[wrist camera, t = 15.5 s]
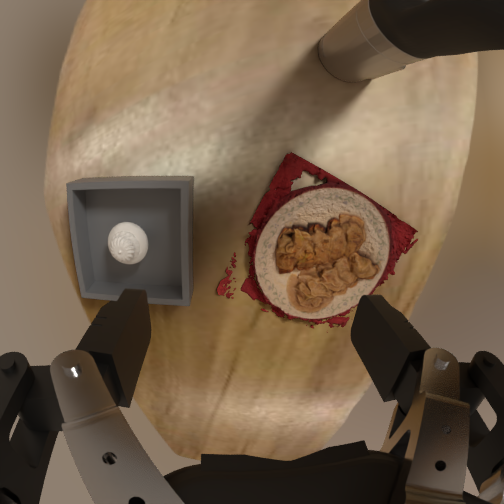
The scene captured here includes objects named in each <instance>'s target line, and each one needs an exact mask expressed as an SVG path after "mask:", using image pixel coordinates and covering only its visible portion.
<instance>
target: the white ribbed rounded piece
mask: <svg viewBox="0 0 504 504" xmlns="http://www.w3.org/2000/svg"><path fill="white" fill-rule="evenodd" d="M108 248H109V251H110V253H111V254H112V256H113V257H114V258H115V259H116V260H118V261H119V262H121V263H125V264H135V263H138V262H140V261H141V260H142V259H143V258H144V257H145V255H146V253H147V250H148V238H147V235H146V234H145V231H143V229H142V228H140V226H138V225H137V224H134V223H131V222H122V223H119V224H117V225H116V226H114V227H113V228H112V230H111V231H110V233H109V236H108Z"/></svg>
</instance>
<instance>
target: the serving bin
mask: <svg viewBox="0 0 504 504" xmlns="http://www.w3.org/2000/svg"><path fill="white" fill-rule="evenodd" d="M193 184H194V176H121V177H95V178H81V179H78V180H75V181H72V182H69V183H66V185H67V201H68V213H69V223H70V232H71V240H72V247H73V254H74V260H75V266H76V271H77V277H78V282H79V287H80V292H81V296H82V298H91V299H101V300H111V301H117V300H118V298H119V297H120V295H121V294H122V292H123V290H124V289H125V288H130V289H144V290H146V293H147V299H148V304H162V305H179V306H190V303H191V298H192V293H193ZM122 222H131V223H134V224H137V225H138V226H140V228H142V229H143V231H145V234H146V235H147V238H148V250H147V253H146V255H145V257H144V258H143V259H142V260H141V261H140V262H138V263H135V264H125V263H121V262H119V261H118V260H116V259H115V258H114V257H113V256H112V254H111V253H110V251H109V248H108V236H109V233H110V231H111V230H112V228H113V227H114V226H116V225H117V224H119V223H122Z"/></svg>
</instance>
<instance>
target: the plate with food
mask: <svg viewBox="0 0 504 504" xmlns="http://www.w3.org/2000/svg"><path fill="white" fill-rule="evenodd" d="M302 171H307V172H309V173H310V174H311V175H317V176H318V179H319V180H322V179H323V178H327V183H325V184H320V185H317V186H309V187H304V188H301V189H297V190H294V191H291V185H292V184H293V182H291V180H294V179H296V178H297V177H298V178H301V175H302ZM269 187H270V188H271V189H270V191H269V192H267V193H266V194H265V195H264V197H263V199H262V201H261V202H260V204H259V206H258V208H257V210H256V212H255V214H254V216H253V218H252V220H251V222H250V223H253V225H254V227H256V229H257V230H256V229H253V230H252V231H251V232H249V234H250V235H251V236H250V237H249V238H247V240H246V241H245V243H248V245H249V252H248V255H249V256H251V257H252V258H251V261H250V262H249V264H251V263H252V262H253V266H252V264H251V265H250V268H249V274H250V275H249V276H248V277H249V278H246V279H245V282H244V283H243V285H242V287H241V291H243V292H246V293H247V294H248V295H249V296H250V297H251V298H252V299H253V300H255V299H259V300H260V301H262V302H264V304H267V303H269V304H270V305H271V306H272V307H271V308H272V311H273V312H275V313H276V314H277V316H279V317H283V316H284V314H286V315H287V316H288V317H287V318H288V319H293V318H300V319H302V320H306V321H307V320H308V319H311V320H309V322H311V321H312V322H315V324H317V325H318V324H321V323H323V324H324V323H325V322H328V323H330V324H329V326H330V328H332V327H334V326H333V325H332V324H333V323H336V324H340V325H341V327H344V326H345V325H346V323H347V321H348V320H349V317H347V318H346V317H339V316H345V315H346V314H348V313H350V312H349V311H351V310H350V309H351V308H352V307H353V308H355V306H358V303H359V300H360V298H361V296H363V295H371V294H373V292H374V290H375V288H377V287H378V286H379V285H380V286H381V284H383V283H385V282H384V280H388V274H389V273H390V274H391V275H394V274H395V272H394V271H393V270H394V267H395V262H396V263H397V260H399V257H400V256H401V253H402V252H403V253H404V254H406V253H407V252H408V250H409V249H410V248H412V246H413V245H414V244H415V243H416V242H417V241H418V239H416V240H415V241H413V242H412V243H411V244H410V242H411V239H412V238H414V234H415V233H416V232H418V231H417V230H415V229H414V228H413V227H411V226H410V225H408V224H407V223H405V222H403V221H401V220H399V219H398V218H397V216H396V215H394V214H392V213H391V212H390V211H388V210H387V209H385V208H384V207H382V206H381V205H379V204H378V203H377V202H375V201H374V200H372V199H371V198H369V197H368V196H366V195H364V194H363V193H361V192H360V191H358V190H357V189H355V188H353V187H352V186H350V185H348V184H346V183H345V182H343V181H341V180H340V179H338V178H336V177H335V176H333V175H331V174H330V173H328V172H326V171H324V170H323V169H321V168H319V167H317V166H315V165H314V164H312V163H310V162H308V161H306V160H305V159H303V158H301V157H299V156H297V155H296V154H294V153H292V152H291V153H290V154H286V155H285V157H284V160H283V162H282V163H281V165H280V167H279V170H278V171H277V173H276V175H275V176H274V178H273V180H272V182H271V184H270V186H269ZM275 189H276V190H275ZM245 246H246V244H245ZM406 246H407V247H406ZM405 247H406V250H405ZM404 250H405V251H404ZM234 257H236V255H235V253H234ZM232 260H234V261H231V260H230V262H232V264H231V265H232V266H233V268H235V267H236V265H235V264H234V263H235V262H236V260H235V259H234V258H233V257H232ZM229 268H231V267H229ZM226 273H227V274H228V275H229V276H227V277H226V278H224V279H222V281H221V282H220V284H219V286H218V288H217V292H218V295H224V293H225V292H226V290H227V289H230V288H231V287H230V286H229V287H228V288H226V286H227V284H230V282H231V281H232V280H229V277H230V275H231V274H232V270H231V271H230V270H228V267H227V269H226ZM254 273H255V274H256V275H257V277H256V281H257V282H258V285H257V283H256V281H255V279H254V277H255V276H254V275H255V274H254ZM250 276H252V277H250ZM233 279H235V278H233ZM250 279H251V280H250ZM253 279H254V280H253ZM235 282H236V281H235ZM223 284H225V286H224V287H223ZM257 286H259V288H260V289H261V290H262V292H263V294H262V293H261V291H260V289H258V288H257ZM235 289H236V288H235ZM235 289H234V290H235ZM234 290H233V291H234ZM233 294H234V293H229V291H228V293H227V294H226V296H227V297H228V298H230V296H231V295H233ZM232 299H233V297H232ZM266 302H267V303H266ZM274 308H275V309H274ZM261 310H263V311H265V312H268V311H266V310H265V309H261ZM352 311H353V310H352ZM337 315H339V316H338V317H336V316H337ZM334 316H335V317H334ZM331 317H333V318H331ZM283 318H285V317H283ZM325 318H329V319H328V320H327V319H326V320H327V321H324V322H322V320H320V319H325ZM330 318H331V319H330ZM340 325H339V326H340ZM306 326H307V325H306ZM339 326H338V327H339ZM310 327H311V328H314V327H313V325H311V326H310ZM327 333H328V332H327Z"/></svg>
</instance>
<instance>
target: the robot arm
mask: <svg viewBox="0 0 504 504" xmlns="http://www.w3.org/2000/svg"><path fill="white" fill-rule="evenodd" d="M502 49H503V50H504V0H361V1H360V2H359V3H357V4H356V5H355V6H354V7H353V8H352V9H351V10H350V11H349V12H348V13H347V14H346V15H345V16H343V17H342V18H341V19H340V20H339V21H338V22H337V23H336V24H335V25H334V26H333V27H332V28H331V29H330V30H329V31H328V32H327V33H326V34H325V35H324V36H323V37H322V39H321V40H320V43H319V47H318V53H319V57H320V60H321V62H322V64H323V66H324V67H325V68H326V70H327V71H328V72H329V73H331V74H332V75H333V76H335V77H336V78H338V79H340V80H343V81H346V82H360V81H363V80H365V79H375V78H378V77H381V76H384V75H387V74H390V73H393V72H396V71H399V70H403V69H405V67H406V65H408V64H412V63H415V62H418V61H421V60H424V59H428V58H432V57H435V56H446V55H458V54H465V53H471V52H477V51H487V50H502ZM150 338H151V322H150V315H149V307H148V299H147V293H146V290H144V289H130V288H125V289H124V290H123V292H122V294H121V295H120V297H119V298H118V300H117V301H110V302H109V303H107V304H106V305H104V306H103V307H102V308H101V309H100V311H99V312H98V314H97V315H96V318H94V320H93V322H92V323H91V325H90V326H89V328H88V330H87V331H86V333H85V335H84V336H83V338H82V339H81V341H80V343H79V345H78V346H77V348H76V349H75V350H69V351H65V352H63V353H61V354H59V355H58V356H57V357H56V358H55V359H54V360H53V361H52V363H51V365H48V366H30V365H29V363H28V361H27V358H26V357H25V356H24V355H23V354H21V353H19V352H9V353H6V354H3V355H2V356H0V504H39V501H40V496H41V492H42V488H43V484H44V479H45V475H46V472H47V468H48V465H49V461H50V457H51V454H52V451H53V447H54V444H55V441H56V438H57V435H58V432H59V431H63V432H64V436H65V438H66V441H67V444H68V446H69V449H70V451H71V454H72V457H73V459H74V461H75V464H76V466H77V468H78V471H79V473H80V475H81V477H82V479H83V482H84V484H85V485H86V488H87V490H88V492H89V494H90V496H91V498H92V500H93V501H94V503H95V504H504V365H503V364H502V362H501V361H500V360H499V359H498V358H497V357H496V356H495V355H493V354H492V353H489V352H487V351H479V352H477V353H476V354H475V355H474V357H473V359H472V361H471V363H464V362H458V360H457V358H456V357H455V356H454V355H453V354H452V353H450V352H449V351H447V350H445V349H442V348H431V347H430V346H429V345H428V344H427V342H426V341H425V340H424V339H423V337H422V336H421V335H420V334H419V333H418V332H417V330H416V329H414V328H413V326H412V325H411V323H410V322H408V320H407V319H406V317H405V316H404V315H403V314H402V313H401V312H399V311H398V310H396V309H395V308H393V307H392V306H391V305H390V304H389V303H388V302H387V301H386V300H385V299H384V297H383V296H382V295H363V296H361V298H360V300H359V303H358V307H357V310H356V314H355V317H354V321H353V324H352V327H351V341H352V343H353V345H354V347H355V349H356V351H357V353H358V354H359V356H360V358H361V360H362V362H363V364H364V365H365V367H366V369H367V371H368V373H369V375H370V377H371V378H372V380H373V382H374V384H375V386H376V388H377V390H378V392H379V394H380V396H381V398H382V399H383V401H384V402H387V401H391V400H395V399H396V400H397V401H398V403H397V405H396V407H395V408H394V411H393V415H392V418H391V421H390V425H389V428H388V431H387V434H386V437H385V440H384V443H383V446H382V448H381V450H380V451H374V450H368V449H367V446H366V444H365V441H359V442H354V443H350V444H344V445H339V446H333V447H328V448H326V449H323V450H320V451H318V452H315V453H312V454H310V455H307V456H304V457H301V458H298V459H295V460H292V461H282V460H274V459H267V458H261V457H255V456H249V455H218V454H201V464H198V465H192V466H188V467H184V468H181V469H179V470H176V471H173V472H171V473H169V474H167V475H165V476H164V477H163V476H162V474H161V473H160V472H159V470H158V469H157V467H156V466H155V465H154V463H153V462H152V460H151V459H150V457H149V456H148V454H147V453H146V451H145V450H144V449H143V447H142V445H141V444H140V442H139V441H138V439H137V437H136V436H135V434H134V433H133V431H132V429H131V428H130V426H129V424H128V422H127V421H126V419H125V417H124V416H123V414H122V412H121V410H120V409H119V407H118V406H121V407H128V408H129V407H130V404H131V400H132V397H133V394H134V390H135V387H136V384H137V380H138V377H139V374H140V371H141V367H142V364H143V361H144V358H145V355H146V352H147V349H148V346H149V343H150ZM484 398H486V399H487V401H488V402H489V404H490V405H491V407H492V408H493V410H494V411H495V413H496V415H497V422H496V425H495V426H494V428H493V429H492V430H491V431H489V429H488V428H487V426H486V424H485V423H484V421H483V419H482V418H481V416H480V415H479V413H478V411H477V410H476V409H477V408H478V406H479V405H480V404H481V402H482V401H483V399H484ZM17 415H18V416H19V417H20V419H19V421H18V423H17V425H16V428H15V430H14V433H13V435H12V437H11V440H10V441H9V435H10V431H11V428H12V426H13V424H14V422H15V419H16V417H17ZM466 467H468V469H469V471H470V473H471V475H472V478H473V480H474V482H475V484H476V487H477V489H478V491H479V496H478V497H476V496H474V495H472V494H470V493H467V492H465V491H463V488H464V482H465V475H466Z"/></svg>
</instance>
